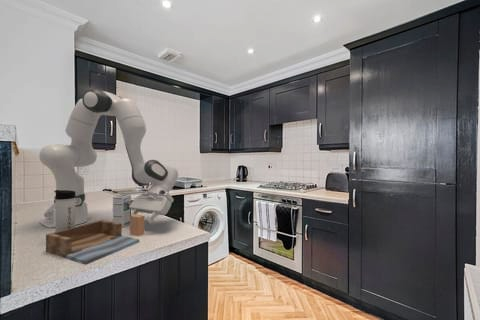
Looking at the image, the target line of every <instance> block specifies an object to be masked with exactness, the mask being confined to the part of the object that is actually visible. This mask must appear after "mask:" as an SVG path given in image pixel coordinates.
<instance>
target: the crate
mask: <svg viewBox="0 0 480 320" xmlns="http://www.w3.org/2000/svg"><path fill="white" fill-rule="evenodd" d="M122 228H123V227H122V223H116V222H113V221H109V220H104V219H100V220H97V221H93V222H90V223H89V222H88V223H86V224H85V223H84V224H81V225H78V226H75V227H73V228H69V229H65V230H61V231H58V232H55V231H53V232H51V233H50V232H49V233H46V234H45V253H49V254H51V255H52V254H53V255H55V256H58V257H62V258H65V259H67V260H71V261H74V262H78V263H80V264H82V265H83V264H84V265H88V264H90V263H92V262H95V261H97V260H99V259H102V258H105V257H107V256H110V255H111V254H114V253H117V252H118V251H121V250H124V249H126V248H129V247H132V246H133V245H136V244H138V243H140V239H139V238H134V237H128V236H125V235H122V232H123V231H122Z"/></svg>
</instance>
